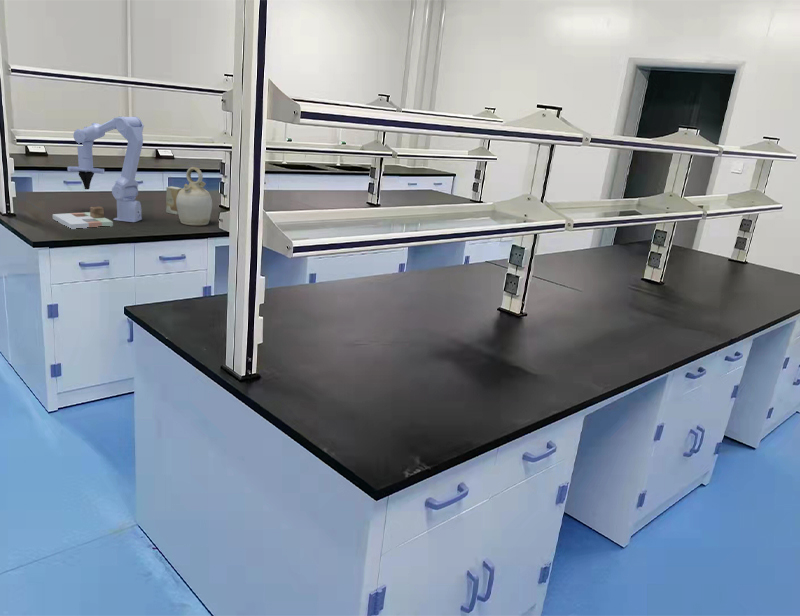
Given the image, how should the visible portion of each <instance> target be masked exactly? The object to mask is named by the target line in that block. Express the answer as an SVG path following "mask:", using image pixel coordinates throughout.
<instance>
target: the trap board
mask: <svg viewBox="0 0 800 616" xmlns="http://www.w3.org/2000/svg"><path fill="white" fill-rule="evenodd" d="M52 220H54V221H56V222H57V221H58V222H57V223H58V224H61V225H63V226H64V225H65V226H64V227H66V226H67V227H66V228H68V227H69V228H68V229H70V228H71V229H70V230H77V229H76V228H83V229H88V228H87V227H97V228H99V227H98V226H110V227H114V222H113V221H114V220H113V221H112V220H111V219H109V218H106V217H104V218H93V217H91V216H90V211H89V212H86V211H85V212H70V213H55V214H54V213H53V214H52Z"/></svg>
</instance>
